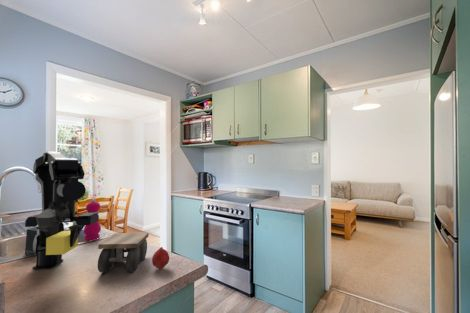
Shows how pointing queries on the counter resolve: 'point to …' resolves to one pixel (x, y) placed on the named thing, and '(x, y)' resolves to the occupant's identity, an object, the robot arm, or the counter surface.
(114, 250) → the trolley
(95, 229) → the pepper mill
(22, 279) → the counter surface
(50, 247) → the block
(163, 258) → the onion
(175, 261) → the counter surface
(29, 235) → the small box
